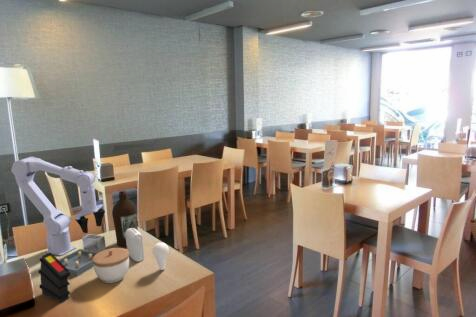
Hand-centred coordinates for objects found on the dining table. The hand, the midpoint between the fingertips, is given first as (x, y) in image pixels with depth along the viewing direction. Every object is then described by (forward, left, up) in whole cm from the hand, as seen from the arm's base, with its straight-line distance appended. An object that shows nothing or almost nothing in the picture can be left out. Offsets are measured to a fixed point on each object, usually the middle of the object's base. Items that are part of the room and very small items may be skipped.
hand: (92, 229), depth 146 cm
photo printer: (+23, 0, -10) cm, 25 cm away
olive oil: (+10, +10, -10) cm, 17 cm away
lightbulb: (+40, -5, -10) cm, 41 cm away
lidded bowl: (+26, -16, -10) cm, 32 cm away
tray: (+5, -13, -9) cm, 17 cm away
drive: (0, 0, -10) cm, 10 cm away
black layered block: (+16, -32, -10) cm, 37 cm away
